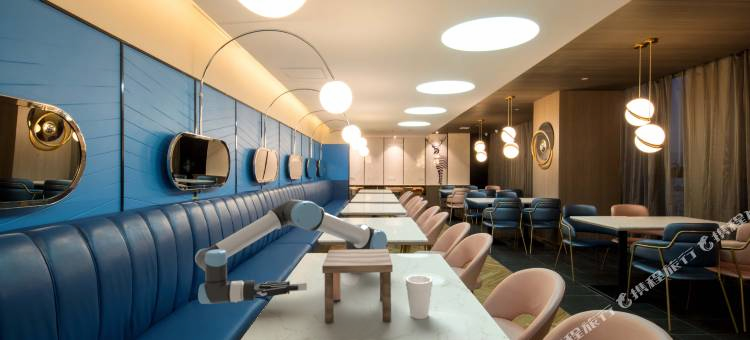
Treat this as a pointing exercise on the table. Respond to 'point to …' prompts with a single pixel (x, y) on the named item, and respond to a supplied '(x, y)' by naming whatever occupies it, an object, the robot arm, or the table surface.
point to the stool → (358, 264)
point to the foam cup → (419, 295)
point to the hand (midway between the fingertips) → (306, 286)
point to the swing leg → (336, 286)
